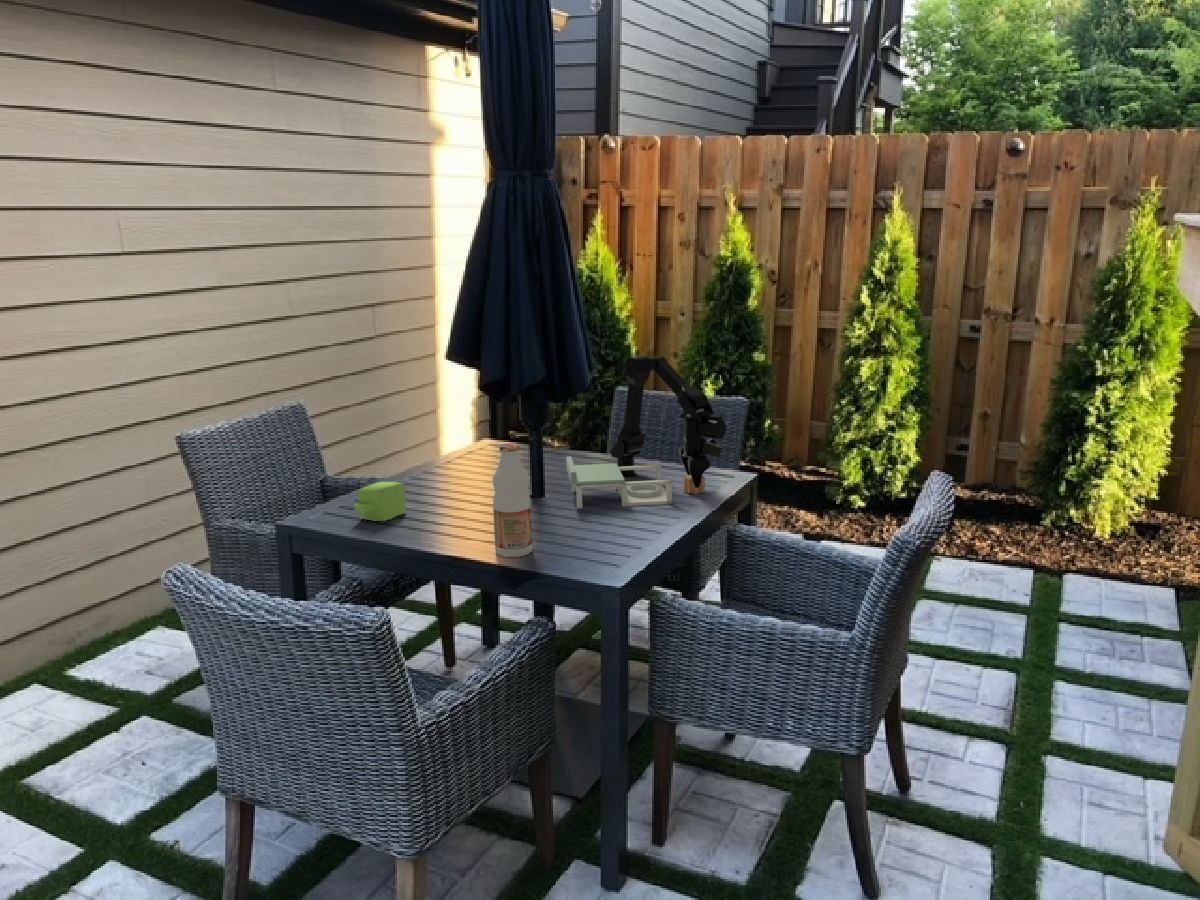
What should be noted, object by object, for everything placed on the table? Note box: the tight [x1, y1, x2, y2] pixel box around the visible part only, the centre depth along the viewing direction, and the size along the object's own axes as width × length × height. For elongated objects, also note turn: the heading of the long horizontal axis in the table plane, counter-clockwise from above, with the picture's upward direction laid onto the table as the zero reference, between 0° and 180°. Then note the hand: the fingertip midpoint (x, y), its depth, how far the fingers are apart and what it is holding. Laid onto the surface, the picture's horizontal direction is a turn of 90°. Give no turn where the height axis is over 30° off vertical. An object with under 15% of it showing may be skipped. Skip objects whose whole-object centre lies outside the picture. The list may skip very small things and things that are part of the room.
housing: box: [571, 464, 673, 509], centre depth 287 cm, size 19×28×7 cm
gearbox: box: [353, 481, 408, 521], centre depth 273 cm, size 18×10×10 cm, turn 154°
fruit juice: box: [492, 442, 533, 558], centre depth 239 cm, size 9×9×28 cm
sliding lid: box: [565, 455, 626, 485], centre depth 285 cm, size 19×16×4 cm
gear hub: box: [683, 474, 706, 495], centre depth 292 cm, size 6×6×5 cm
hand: (694, 483), depth 292 cm, fingers open, 9 cm apart
